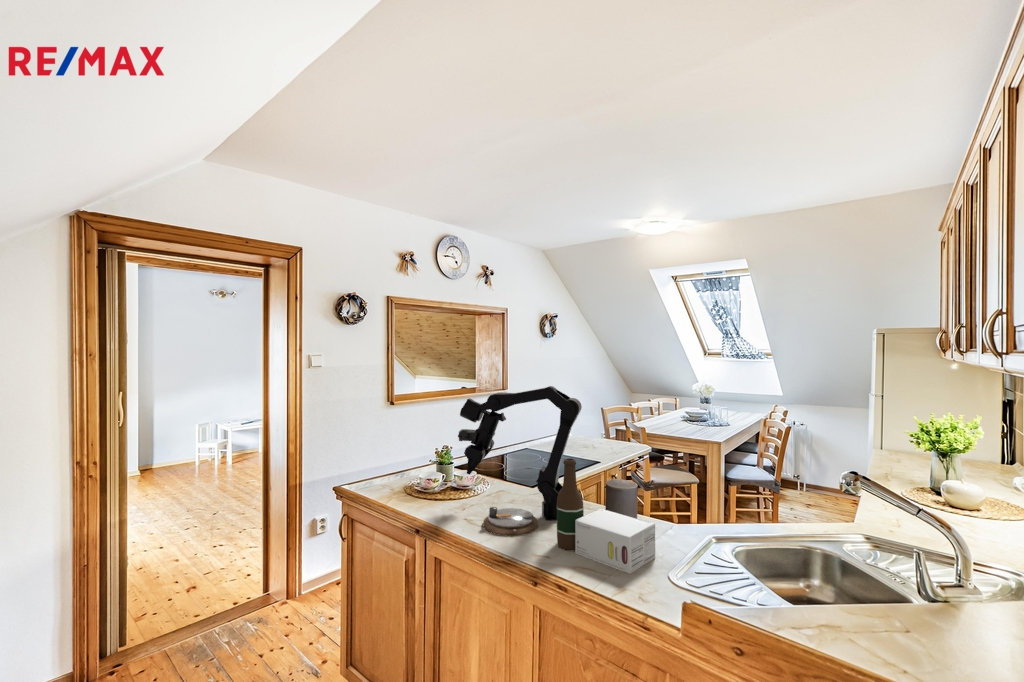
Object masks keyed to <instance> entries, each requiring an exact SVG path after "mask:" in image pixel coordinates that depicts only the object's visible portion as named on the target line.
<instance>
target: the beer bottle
mask: <svg viewBox="0 0 1024 682" xmlns="http://www.w3.org/2000/svg"><path fill="white" fill-rule="evenodd" d="M562 463H563V465H564V466H563V481H562V486H563V488H562V489H561V491H560V492H559V494H558V497H557V520H556V540H557V543H556V544H557V547H558V549H561V550H563V549H564V550H563V551H567V552H569V551H574V552H575V520H576V519H578V518H581V517H583V516H585V515H584V512H585V511H584V510H585V509H584V500H583V497H582V495H581V492H580V490H579V488H578V486H577V485H578V483H577V473H576V472H577V471H576V465H577V462H576V459H574V458H570V457H569V458H564V459H563V462H562Z"/></svg>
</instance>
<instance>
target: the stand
mask: <svg viewBox="0 0 1024 682" xmlns="http://www.w3.org/2000/svg"><path fill="white" fill-rule="evenodd" d="M538 528H539V519H538V518H537V517H535V516H534V515H533V523H532V524H530V525H529V526H526V527H522V528H515V529H506V528H499V527H495V526H493V525H491V524H490V523H489V522H488V516H486V517H485V518H484V519H483V529H485V531H487V532H489V533H491V532H492V533H491V534H494V533H495V534H494V535H498V534H499V536H505V535H507V536H510V537H511V536H512V537H513V536H514V537H516V536H522V535H527V534H530V533H533V532H535V531H536V530H537V529H538Z"/></svg>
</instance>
